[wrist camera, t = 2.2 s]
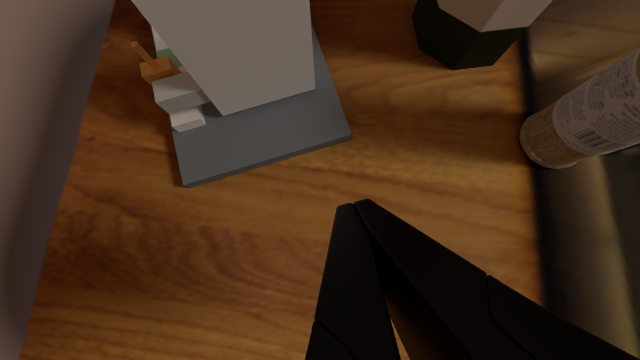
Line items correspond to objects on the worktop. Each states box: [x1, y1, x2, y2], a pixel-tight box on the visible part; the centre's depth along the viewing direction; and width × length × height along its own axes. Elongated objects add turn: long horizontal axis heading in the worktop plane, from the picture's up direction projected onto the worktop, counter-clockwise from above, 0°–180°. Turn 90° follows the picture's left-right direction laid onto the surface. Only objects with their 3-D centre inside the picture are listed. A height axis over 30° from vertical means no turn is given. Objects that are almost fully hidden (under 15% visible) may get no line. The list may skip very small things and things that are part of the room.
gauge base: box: [150, 22, 352, 188], centre depth 17 cm, size 17×12×12 cm
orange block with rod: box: [131, 41, 182, 87], centre depth 18 cm, size 1×2×4 cm, turn 107°
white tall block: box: [131, 0, 316, 116], centre depth 16 cm, size 2×10×10 cm, turn 107°
